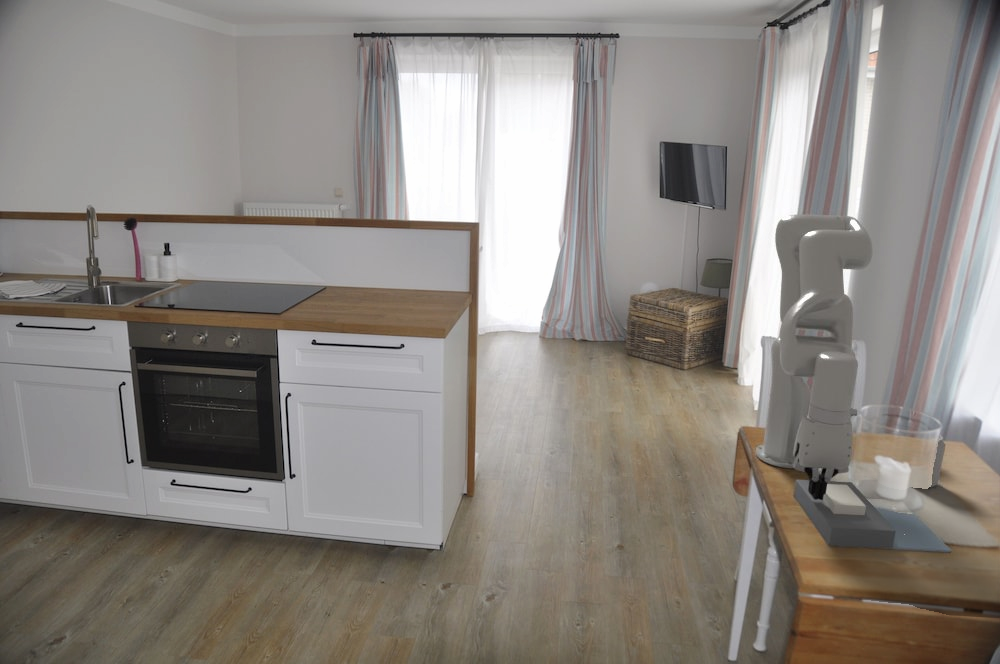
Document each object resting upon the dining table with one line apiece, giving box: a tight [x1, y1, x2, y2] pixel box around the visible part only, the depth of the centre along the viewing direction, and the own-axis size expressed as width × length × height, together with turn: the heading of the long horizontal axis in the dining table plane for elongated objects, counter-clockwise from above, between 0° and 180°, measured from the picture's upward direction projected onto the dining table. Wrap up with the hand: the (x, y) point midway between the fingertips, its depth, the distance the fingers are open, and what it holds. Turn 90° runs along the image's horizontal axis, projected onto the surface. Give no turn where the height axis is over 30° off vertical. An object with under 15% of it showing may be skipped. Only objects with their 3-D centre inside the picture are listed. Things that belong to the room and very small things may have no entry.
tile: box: [823, 484, 866, 515], centre depth 143 cm, size 9×6×2 cm, turn 176°
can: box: [931, 434, 946, 488], centre depth 160 cm, size 8×8×12 cm
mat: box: [875, 507, 952, 553], centre depth 143 cm, size 20×11×1 cm, turn 176°
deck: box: [793, 479, 896, 550], centre depth 143 cm, size 20×12×4 cm, turn 176°
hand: (816, 496), depth 143 cm, fingers closed
